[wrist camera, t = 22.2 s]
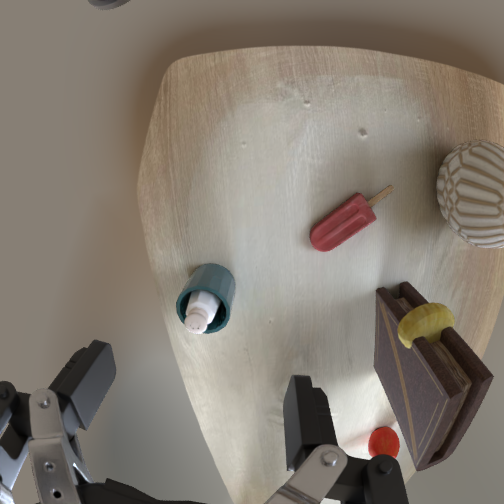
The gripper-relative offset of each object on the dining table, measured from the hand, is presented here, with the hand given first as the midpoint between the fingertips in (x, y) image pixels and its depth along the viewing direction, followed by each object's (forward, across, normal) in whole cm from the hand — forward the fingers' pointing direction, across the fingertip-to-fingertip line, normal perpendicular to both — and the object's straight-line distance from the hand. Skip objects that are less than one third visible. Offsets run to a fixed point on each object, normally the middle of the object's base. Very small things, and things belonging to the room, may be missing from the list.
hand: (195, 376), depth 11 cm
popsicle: (+31, -16, -3) cm, 35 cm away
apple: (+30, -42, +49) cm, 71 cm away
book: (+30, -29, +15) cm, 44 cm away
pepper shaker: (+30, +3, +11) cm, 32 cm away
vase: (+30, -35, -12) cm, 48 cm away
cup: (+31, +3, +11) cm, 33 cm away
